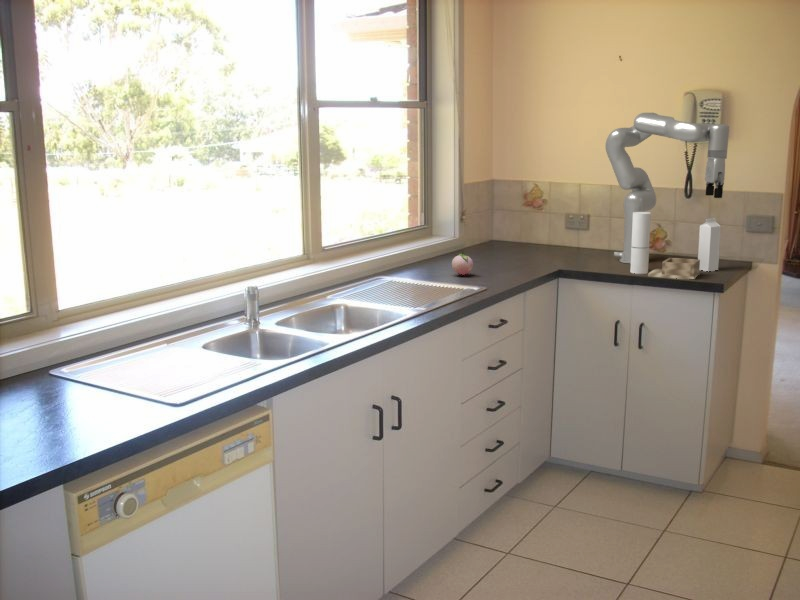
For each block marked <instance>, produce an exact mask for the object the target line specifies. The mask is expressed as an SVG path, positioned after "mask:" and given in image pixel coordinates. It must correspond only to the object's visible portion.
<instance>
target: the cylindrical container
mask: <svg viewBox="0 0 800 600" xmlns="http://www.w3.org/2000/svg"><path fill="white" fill-rule="evenodd" d="M651 217H652V213H651V212H650V211H649V212H648V211H645V212H633V221H632V245H631V264H630V269H629V271H630V273H631V274H634V273H635V274H634V275H644V274H646V275H648V273H649V260H650V242H651V241H650V240H651V239H650V238H651V237H650V236H651Z"/></svg>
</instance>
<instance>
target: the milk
mask: <svg viewBox="0 0 800 600" xmlns="http://www.w3.org/2000/svg"><path fill="white" fill-rule="evenodd" d="M721 228H722V226H721V224H719V223H718V222H717V218H716V217H712V218H711V217H710V218H706V219H705V221H704V223H702V224H700V225H699V235H698V247H697V248H698V253H697V260H700V267H699V271H701V270H703V271H702V272H706V271H708V272H707V273H709V271H711V272H716V271H715V270H718V271H719V263H720V261H719V260H720V259H719V258H720V247H721V246H720V245H721V244H720V243H721V233H722V232H721Z"/></svg>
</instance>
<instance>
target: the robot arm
mask: <svg viewBox="0 0 800 600" xmlns="http://www.w3.org/2000/svg"><path fill="white" fill-rule="evenodd" d="M652 135H654V136H659V137H665V138H668V139H673V140H678V141H684V142H689V143H699V142H700V143H702V142H703V143H704V142H708V145H707V147H708V148H707V155H706V156H707V158H706V159H707V161H706V166H705V167H706V168H705V173H704V180H705V182H706V184H705V186H706V187H705V196H713V198H714V199H722V198H723V194H724V191H723V190H724V184H725V176H726V175H725V174H726V159H727V158H728V147H729V137H730V136H729V135H730V126H729V125H728V124H722V123H719V124H718V123H717V124H716V123H713V124H711V123H705V122H704V123H703V122H698V123H697V122H696V123H693V122H686V121H682V120H681V121H680V120H678V119H675V118H674V116H667V115H660V114H658V113H655V112H641V113H639V114H637V115H636V116H635V118H634V120H633V125H632V126H630V127H619V128H618V127H617V128H615V129H614V130H612V131H611V132H610V133H609V134H608V135H607V138H606V141H605V151H606V155H607V157H608V159H609V162H610V164H611V167H612V170H613V172H614V176H615V178H616V181H617V183H618V186H619V187H620V188H621V189H622V190H626V191H627V190H628V191H629V190H631V192H629V193H628V194H627V195H626V196H625V197H624V199H623V213H624V214H623V215H624V224H623V225H624V229H623V230H624V234H623V251H621V252H620V251H614V252H613V256H614V257H620V258H619V262H620V263H623V264H630V265H631V245H632V221H633V212H648V211H651V210H652V209H654V208H655V206H656V204H657V196H656V192H655V190H654V187H653V185H652V182H651V179H650V178H649V175H648V173H647V172H646V170H644V169H643V168H641V167H635V166H634V164H633V162H632V159H631V157H630V155H629V153H628V152H627V151H626V148H630V147H631V148H632V147H635V146H637V145H639V144H641V143H642V142H644V141H645V140H647V139H648V138H650V137H651V136H652Z"/></svg>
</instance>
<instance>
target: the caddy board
mask: <svg viewBox="0 0 800 600" xmlns="http://www.w3.org/2000/svg"><path fill="white" fill-rule="evenodd" d="M699 267H700V260H698V258H697V259H695V258H679V257H668V258H667V259H665V260H663V261H662V263H661V268H654V269H652V270H651V271H649V272H648V273H647V277H650V278H665V279H676V278H677V279H676V280H678V279H679V280H689V279H694V280H695V279H696V277H697V276H698V275H699V276H700V275H701V271H700V270H699ZM699 276H698V277H699ZM698 277H697V278H698Z"/></svg>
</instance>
